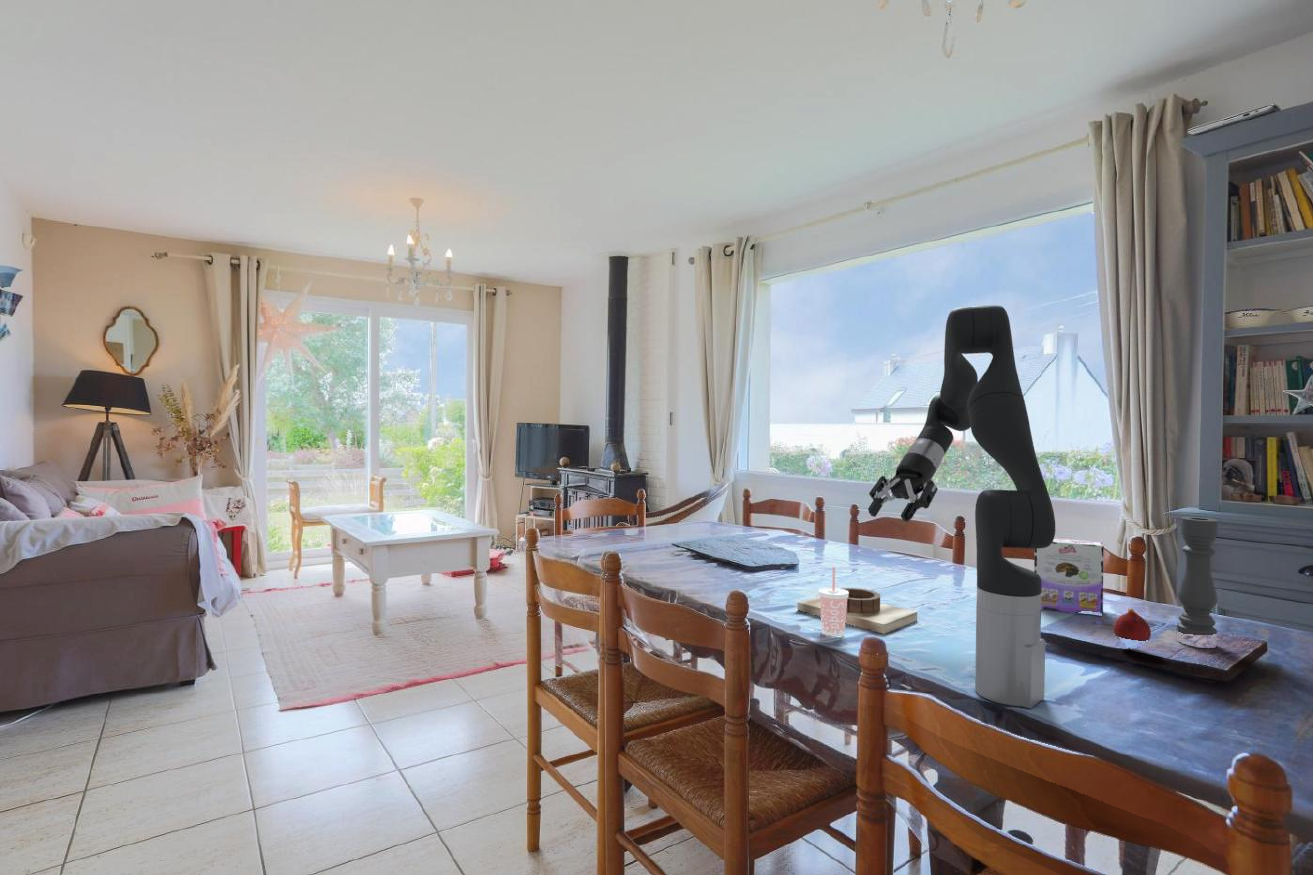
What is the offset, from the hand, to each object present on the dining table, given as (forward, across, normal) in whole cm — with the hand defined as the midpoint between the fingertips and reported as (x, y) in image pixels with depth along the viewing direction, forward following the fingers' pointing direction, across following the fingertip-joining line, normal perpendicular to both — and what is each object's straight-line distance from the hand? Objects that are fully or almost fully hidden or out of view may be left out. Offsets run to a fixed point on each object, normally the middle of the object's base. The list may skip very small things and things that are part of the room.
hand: (887, 516), depth 144 cm
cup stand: (+18, -7, +15) cm, 24 cm away
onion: (-2, +37, +35) cm, 51 cm away
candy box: (-15, +17, +48) cm, 53 cm away
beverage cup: (+28, -1, +6) cm, 28 cm away
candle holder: (-12, +42, +46) cm, 63 cm away
